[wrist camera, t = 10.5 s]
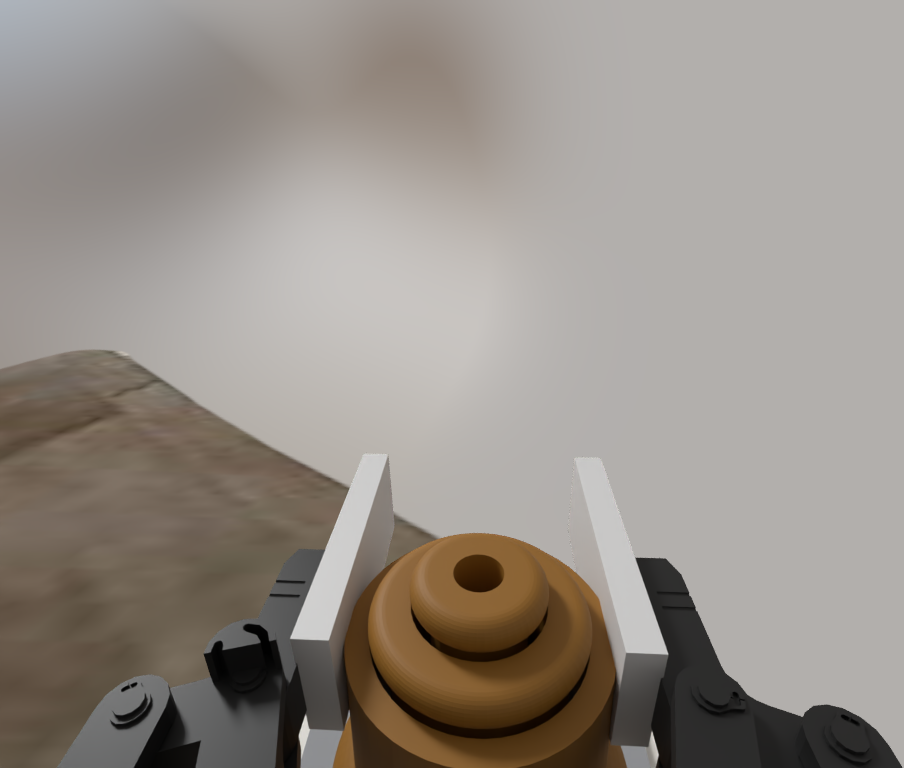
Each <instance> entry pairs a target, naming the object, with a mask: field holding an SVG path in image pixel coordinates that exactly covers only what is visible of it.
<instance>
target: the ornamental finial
mask: <svg viewBox="0 0 904 768" xmlns="http://www.w3.org/2000/svg"><path fill="white" fill-rule="evenodd" d="M344 657H345V667H346V678H347V689H348V699H349V710H350V717H349V719H348V721H347V723H346V725H345V729H344V731H343V732H342V735H341V738H340V741H339V744H338V747H337V751H336V754H335V758H334V763H333V768H627V765H626V761H625V758H624V755H623V751H622V748H621V746H619V745H610V739H609V733H610V724H611V714H612V704H613V694H614V684H615V675H616V668H615V664H614V660H613V655H612V651H611V647H610V643H609V638H608V634H607V630H606V626H605V621H604V617H603V613H602V609H601V605H600V600H599V598H598V597H597V595H596V594H595V593H594V591H593V590H592V589H591V588H590V586H589V585H588V584H587V583H586V582H585V581H584V580H583V579H582V578H581V577H580V576H579V575H578V574H577V573H575V572H574V571H573V570H572V569H571V568H569V567H568V566H567V565H565V564H563V563H562V562H561V561H559V560H558V559H556V558H554V557H553V556H551V555H549V554H547V553H545V552H543V551H541V550H540V549H538V548H536V547H534V546H532V545H530V544H528V543H525V542H523V541H520V540H517V539H514V538H510V537H506V536H501V535H495V534H485V533H469V534H459V535H453V536H448V537H444V538H441V539H437V540H434V541H432V542H429V543H427V544H425V545H423V546H421V547H419V548H417V549H415V550H413V551H411V552H409V553H407V554H405V555H403V556H402V557H400V558H399V559H397V560H396V561H394V562H392V563H391V564H390V565H389V566H387V567H386V568H385V569H383V570H382V571H381V572H380V573H379V574H378V575H377V576H376V577H375V578H374V579H373V580H372V581H371V582H370V584H369V585H368V586H367V587H366V588H365V590H364V591H363V593H362V594H361V596H360V597H359V599H358V601H357V603H356V605H355V607H354V609H353V613H352V616H351V620H350V623H349V626H348V630H347V633H346V637H345V649H344Z"/></svg>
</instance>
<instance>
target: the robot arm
mask: <svg viewBox="0 0 904 768" xmlns="http://www.w3.org/2000/svg"><path fill="white" fill-rule="evenodd" d="M388 457H389V456H388V454H363V457H362V459H361V462H360V464H359V467H358V469H357V472H356V474H355V477H354V480H353V482H352V484H351V487H350V489H349V492H348V494H347V497H346V499H345V502H344V504H343V507H342V509H341V512H340V514H339V517H338V519H337V522H336V524H335V527H334V529H333V532H332V534H331V537H330V539H329V542H328V545H327V547H326V550H313V549H299V550H298V551H297V552H296V553H295V554H294V555H293V556H291V557H290V558H289V559H288V560H287V561H286V562H285V563H284V565H283V567H282V569H281V571H280V573H279V575H278V578H277V580H276V583H275V584H274V586H273V588H272V590H271V592H270V596H269V597H268V598H267V600H266V602H265V604H264V607H263V609H262V611H261V613H260V615H259V617H258V619H244V620H241V621H237V622H234V623H231V624H230V625H228V626H227V627H225V628H223V629H222V630H220V631H219V632H218V633H217V634H216V635H215V636H214V637H213V638H212V639H211V640H210V641H209V643H208V645H207V647H206V650H205V652H204V657H205V660H206V663H207V666H208V669H209V672H210V676H211V677H209V678H206V679H203V680H200V681H196V682H192V683H188V684H184V685H180V686H176V687H172V688H169V685H168V683H167V682H166V681H165V680H164V679H163V678H162V677H159V676H155V675H144V676H138V677H134V678H132V679H130V680H128V681H126V682H123V683H121V684H120V685H119V686H117V687H116V688H114V689H113V690H112V691H110V692H109V693H108V694H107V695H106V696H105V697H104V698H103V700H102V701H101V702H100V703H99V704H98V706H97V707H96V708H95V710H94V711H93V713H92V715H91V716H90V718H89V719H88V721H87V722H86V724H85V725H84V727H83V728H82V730H81V731H80V733H79V735H78V736H77V738H76V739H75V741H74V742H73V744H72V745H71V747H70V748H69V750H68V752H67V753H66V755H65V756H64V758H63V759H62V761H61V762H60V764H59V765H58V767H57V768H301V746H300V740H299V733H300V730H301V727H302V724H303V721H304V718H305V714H306V717H307V722H308V727H309V729H317V730H335V731H344V729H345V725H346V721H347V717H348V713H349V699H348V689H347V678H346V667H345V657H344V649H345V637H346V633H347V630H348V626H349V623H350V620H351V616H352V613H353V609H354V607H355V605H356V603H357V601H358V599H359V597H360V596H361V594H362V593H363V591H364V590H365V588H366V587H367V586H368V585H369V584H370V582H371V581H372V580H373V579H374V578H375V577H376V576H377V575H378V574H379V573H380V572H381V571H382V570H383V569H384V566H385V562H386V558H387V554H388V550H389V546H390V542H391V538H392V533H393V529H394V516H393V504H392V492H391V480H390V469H389V458H388ZM568 533H569V538H570V543H571V547H572V553H573V558H574V563H575V568H576V573H577V574H578V575H579V576H580V577H581V578H582V579H583V580H584V581H585V582H586V583H587V584H588V585H589V586H590V588H591V589H592V590H593V591H594V593H595V594H596V595H597V597H598V598H599V600H600V605H601V609H602V613H603V617H604V621H605V626H606V630H607V634H608V638H609V643H610V647H611V651H612V655H613V660H614V664H615V668H616V675H615V684H614V694H613V704H612V714H611V724H610V733H609V739H610V745H619V746H638V747H648V746H649V742H650V737H651V733H652V732H653V736H654V740H655V743H656V747H657V751H658V754H659V756H658V760H657V764H656V768H902V766H901V764H900V763H899V761H898V760H897V758H896V756H895V755H894V753H893V752H892V750H891V748H890V747H889V745H888V744H887V743H886V741H885V740H884V739H883V738H882V736H881V735H880V734H879V733H878V731H877V730H876V729H874V728H873V727H872V726H871V725H869V724H868V723H867V722H865V721H864V720H863V719H862V718H861V717H859V716H857V715H855V714H853V713H851V712H849V711H847V710H845V709H843V708H839V707H835V706H831V705H818V706H813V707H812V708H810V709H809V710H808V711H806V712H805V714H804V716H803V717H801V716H798V715H795V714H792V713H789V712H786V711H783V710H780V709H777V708H774V707H771V706H768V705H766V704H764V703H761V702H759V701H756V700H755V699H753V698H751V697H750V696H748V695H747V694H746V693H745V691H744V690H743V689H742V688H741V686H740V685H739V684H738V682H736V681H735V680H733V679H732V678H731V677H729V676H728V675H727V674H726V673H725V672H724V670H723V668H722V667H721V664H720V662H719V660H718V658H717V655H716V653H715V651H714V648H713V646H712V644H711V642H710V639H709V637H708V635H707V633H706V630H705V628H704V626H703V623H702V621H701V619H700V617H699V615H698V612H697V611H696V609H695V605H694V603H693V600H692V598H691V596H689V591H688V589H687V587H686V584H685V582H684V580H683V578H682V575H681V574H680V573H679V572H678V571H677V570H676V569H675V568H674V567H673V566H672V565H671V564H670V563H669V562H668V561H667V559H661V558H635V556H634V553H633V550H632V548H631V545H630V542H629V539H628V536H627V533H626V530H625V527H624V524H623V521H622V519H621V516H620V513H619V510H618V507H617V504H616V501H615V498H614V495H613V493H612V490H611V487H610V484H609V481H608V478H607V475H606V472H605V470H604V467H603V463H602V461H601V458H578V457H577V458H576V457H575V458H574V469H573V481H572V491H571V502H570V515H569V525H568Z"/></svg>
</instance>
